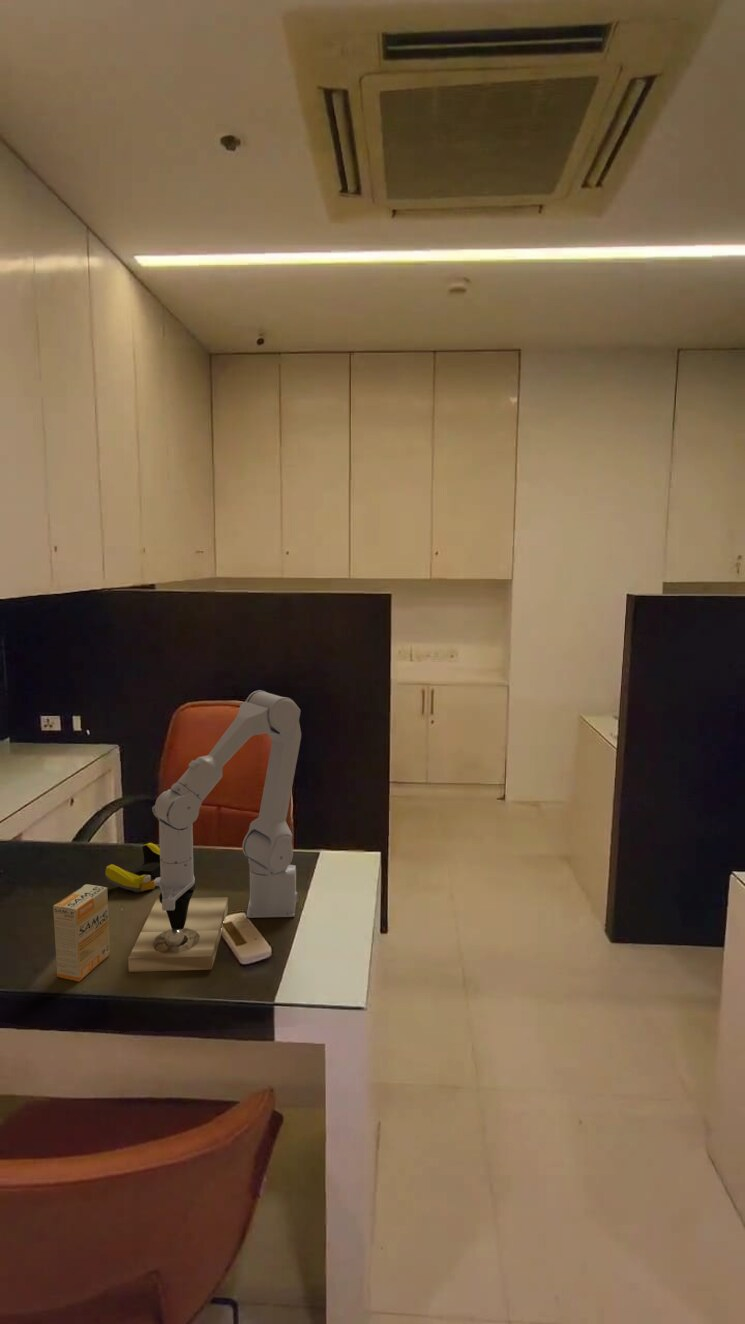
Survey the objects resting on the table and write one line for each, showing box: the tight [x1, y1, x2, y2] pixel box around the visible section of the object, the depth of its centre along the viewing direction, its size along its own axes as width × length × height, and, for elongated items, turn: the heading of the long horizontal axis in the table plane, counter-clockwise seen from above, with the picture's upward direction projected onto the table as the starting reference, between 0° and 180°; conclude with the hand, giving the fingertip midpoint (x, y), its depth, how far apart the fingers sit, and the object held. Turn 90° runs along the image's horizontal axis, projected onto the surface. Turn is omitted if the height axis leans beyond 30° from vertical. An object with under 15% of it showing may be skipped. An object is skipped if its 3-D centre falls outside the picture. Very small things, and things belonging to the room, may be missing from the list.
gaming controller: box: [104, 842, 161, 893], centre depth 147 cm, size 15×6×10 cm
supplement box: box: [52, 883, 111, 982], centre depth 116 cm, size 8×5×13 cm, turn 164°
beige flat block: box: [127, 896, 229, 973], centre depth 126 cm, size 20×14×2 cm
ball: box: [165, 928, 184, 947], centre depth 120 cm, size 3×3×3 cm
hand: (178, 927), depth 123 cm, fingers closed
